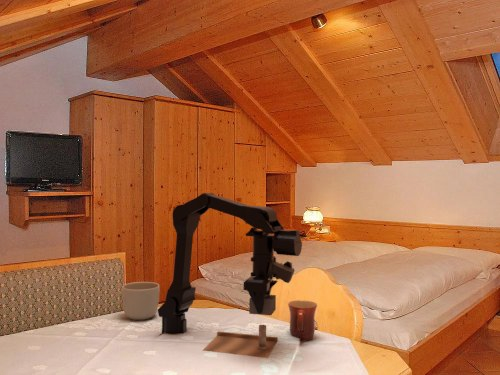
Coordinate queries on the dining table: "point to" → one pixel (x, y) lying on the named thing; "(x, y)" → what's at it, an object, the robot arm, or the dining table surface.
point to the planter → (140, 300)
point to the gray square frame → (267, 307)
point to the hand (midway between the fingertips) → (262, 310)
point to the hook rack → (243, 343)
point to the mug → (302, 319)
